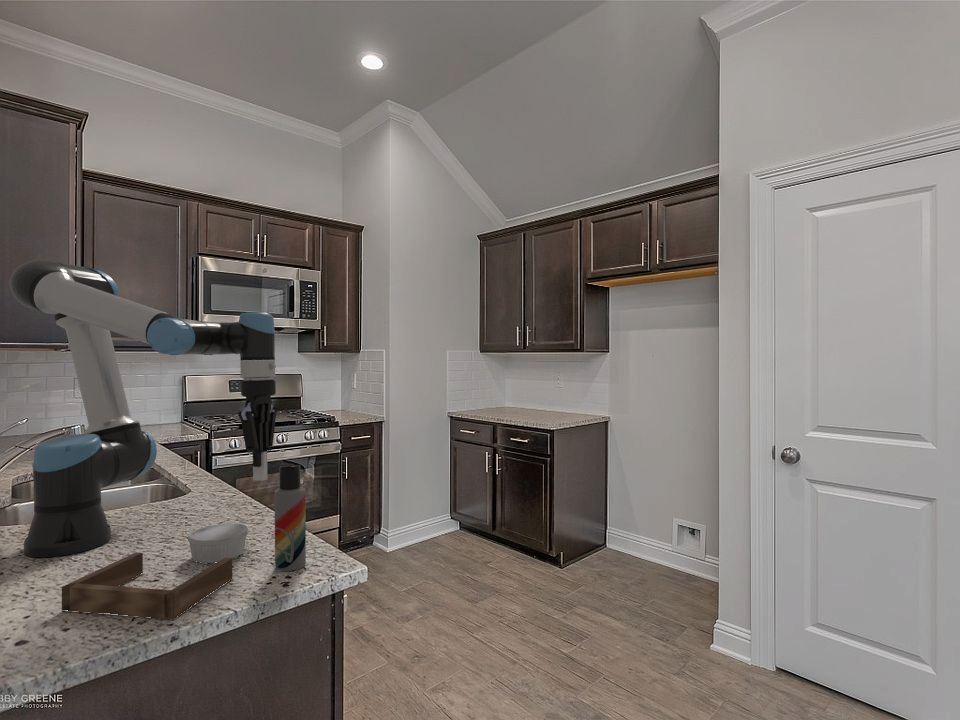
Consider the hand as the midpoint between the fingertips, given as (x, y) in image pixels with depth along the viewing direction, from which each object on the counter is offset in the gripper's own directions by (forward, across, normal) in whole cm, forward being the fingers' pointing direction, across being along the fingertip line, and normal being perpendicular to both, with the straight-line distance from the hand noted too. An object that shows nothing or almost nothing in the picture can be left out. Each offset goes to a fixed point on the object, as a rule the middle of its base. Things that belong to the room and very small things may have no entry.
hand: (260, 479), depth 125 cm
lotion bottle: (+13, -18, -17) cm, 28 cm away
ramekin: (+13, -15, +1) cm, 20 cm away
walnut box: (+12, -33, 0) cm, 35 cm away
